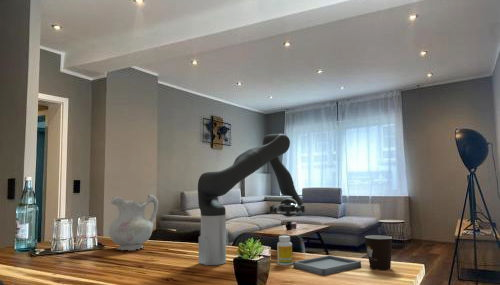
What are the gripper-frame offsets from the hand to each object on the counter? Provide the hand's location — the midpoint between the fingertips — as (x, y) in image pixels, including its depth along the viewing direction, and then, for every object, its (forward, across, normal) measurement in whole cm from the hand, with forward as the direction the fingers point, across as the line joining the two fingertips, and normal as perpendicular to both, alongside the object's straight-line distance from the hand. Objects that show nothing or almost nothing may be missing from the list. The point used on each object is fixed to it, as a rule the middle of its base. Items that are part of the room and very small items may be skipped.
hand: (286, 210), depth 140 cm
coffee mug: (+13, +32, +18) cm, 39 cm away
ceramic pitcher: (-15, -72, +18) cm, 76 cm away
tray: (+15, +14, +18) cm, 28 cm away
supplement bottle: (+11, 0, +18) cm, 21 cm away
